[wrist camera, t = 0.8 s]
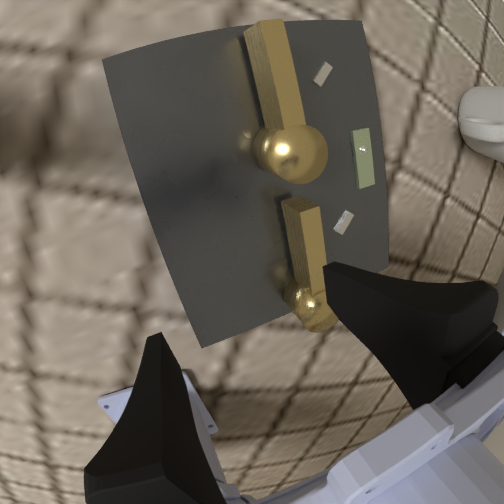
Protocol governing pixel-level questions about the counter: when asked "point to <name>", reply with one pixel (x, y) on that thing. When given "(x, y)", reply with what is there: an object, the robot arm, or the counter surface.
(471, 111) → the cup
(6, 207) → the counter surface
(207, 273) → the base plate
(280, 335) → the counter surface
